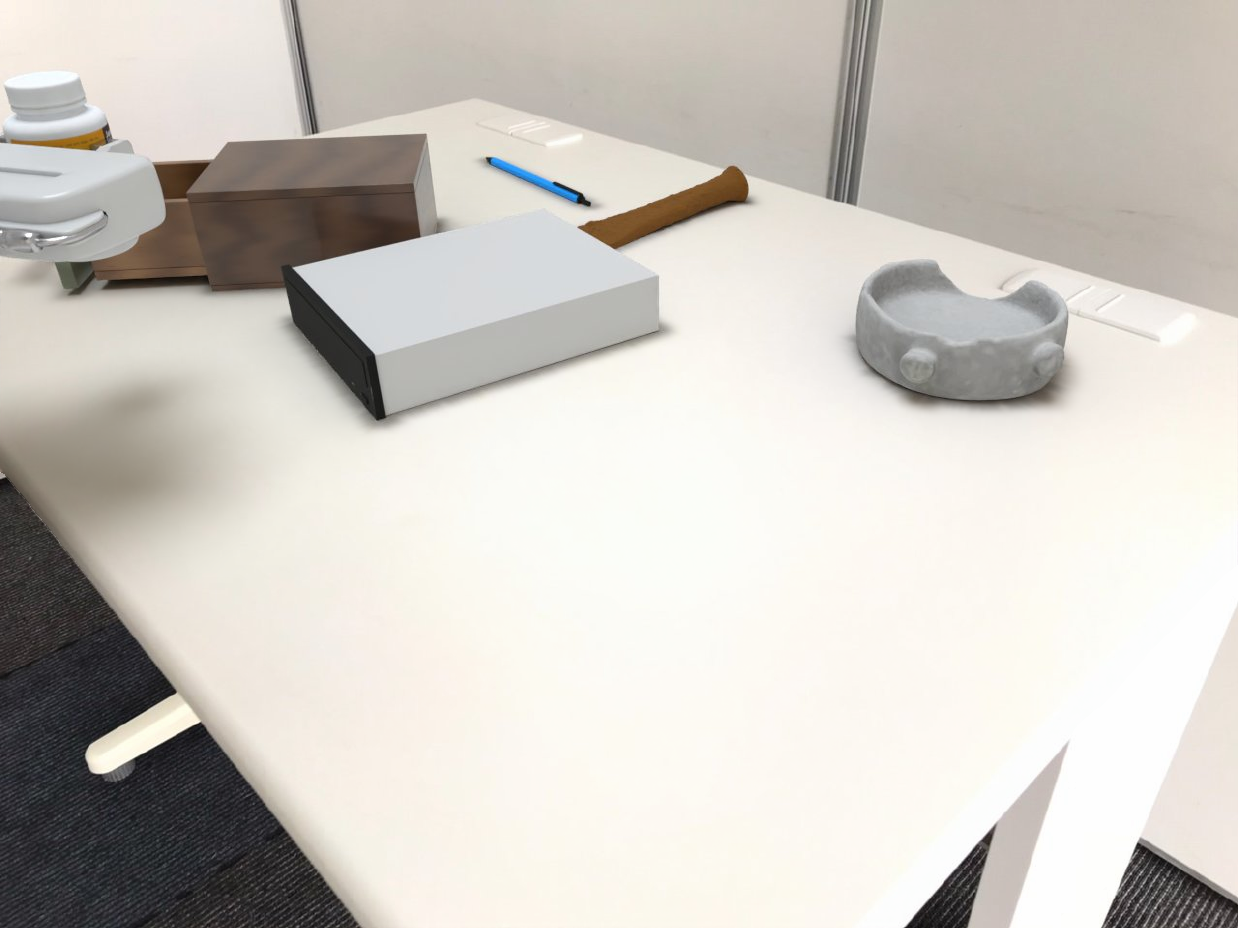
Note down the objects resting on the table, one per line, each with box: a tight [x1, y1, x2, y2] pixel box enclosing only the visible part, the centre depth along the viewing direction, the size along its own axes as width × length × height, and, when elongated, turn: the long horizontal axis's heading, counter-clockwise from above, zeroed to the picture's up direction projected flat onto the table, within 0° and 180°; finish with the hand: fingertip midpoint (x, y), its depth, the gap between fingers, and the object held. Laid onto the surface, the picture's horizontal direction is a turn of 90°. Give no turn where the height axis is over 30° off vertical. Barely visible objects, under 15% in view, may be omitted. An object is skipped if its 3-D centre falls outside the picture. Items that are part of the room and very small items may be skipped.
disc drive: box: [281, 208, 660, 421], centre depth 75 cm, size 18×22×5 cm
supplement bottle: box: [1, 70, 139, 262], centre depth 60 cm, size 6×6×10 cm
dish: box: [855, 258, 1070, 401], centre depth 70 cm, size 14×14×5 cm
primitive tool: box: [576, 165, 750, 250], centre depth 94 cm, size 19×6×4 cm, turn 130°
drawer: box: [53, 158, 214, 290], centre depth 86 cm, size 21×12×7 cm, turn 95°
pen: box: [485, 156, 592, 206], centre depth 104 cm, size 1×19×1 cm, turn 38°
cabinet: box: [186, 133, 439, 292], centre depth 87 cm, size 18×14×9 cm
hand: (74, 148), depth 61 cm, fingers closed on supplement bottle, 5 cm apart
